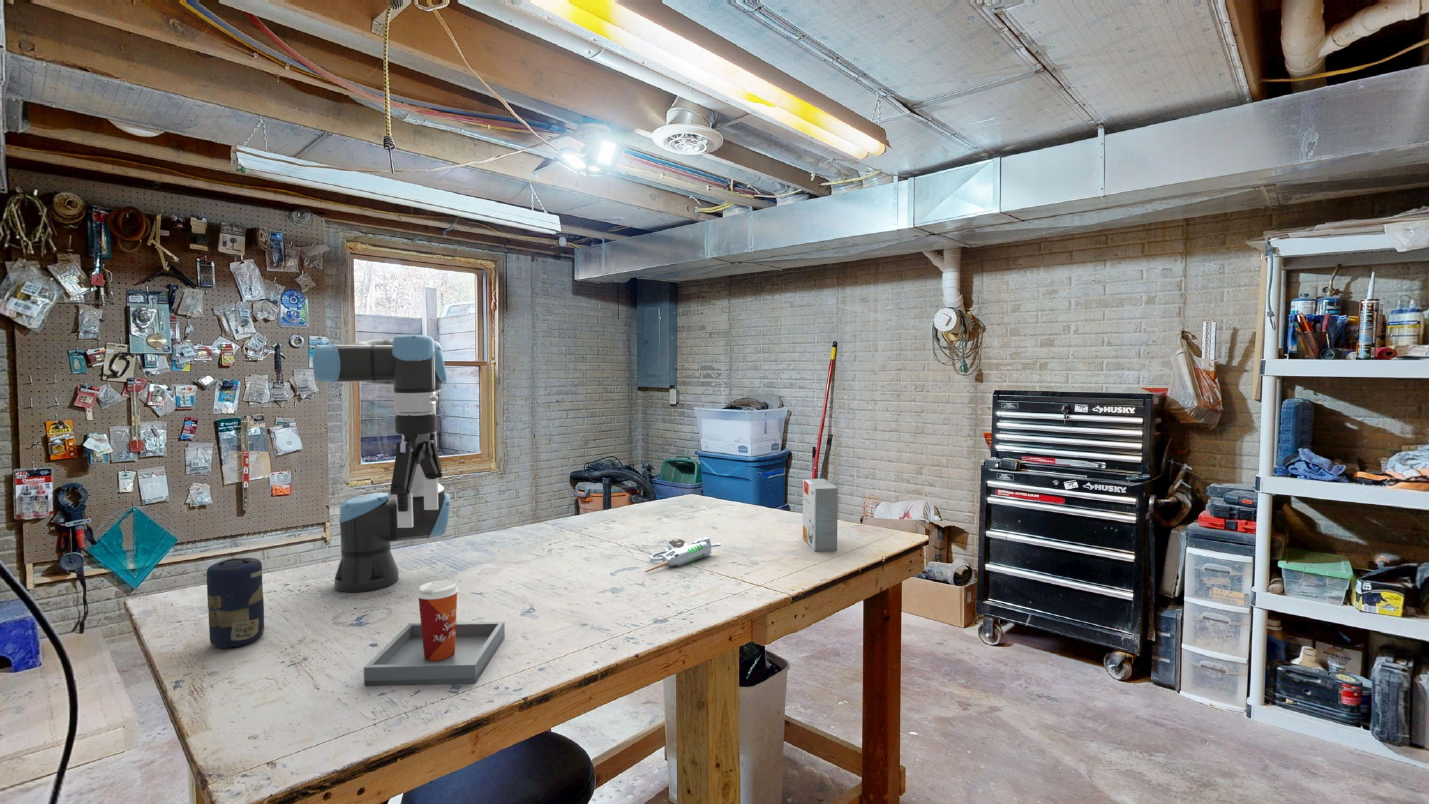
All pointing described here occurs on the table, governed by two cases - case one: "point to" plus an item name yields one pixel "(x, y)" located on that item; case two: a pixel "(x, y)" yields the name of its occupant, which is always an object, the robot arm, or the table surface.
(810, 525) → the hard drive box
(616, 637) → the table surface
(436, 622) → the paper cup
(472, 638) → the tray
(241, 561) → the canister
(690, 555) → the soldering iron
